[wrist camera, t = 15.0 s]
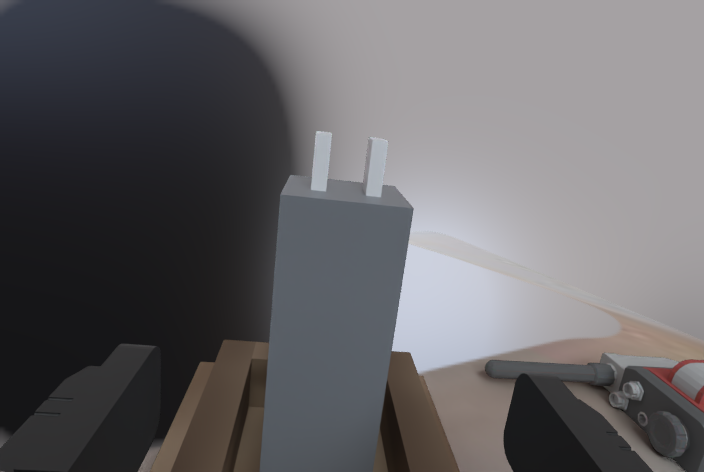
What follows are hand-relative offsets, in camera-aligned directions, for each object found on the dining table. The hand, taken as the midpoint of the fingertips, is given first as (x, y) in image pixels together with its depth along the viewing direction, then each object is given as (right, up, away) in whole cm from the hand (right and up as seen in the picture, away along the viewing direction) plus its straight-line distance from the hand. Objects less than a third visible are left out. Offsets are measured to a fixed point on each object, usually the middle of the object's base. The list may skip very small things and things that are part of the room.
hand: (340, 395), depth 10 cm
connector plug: (-1, -5, +8) cm, 10 cm away
